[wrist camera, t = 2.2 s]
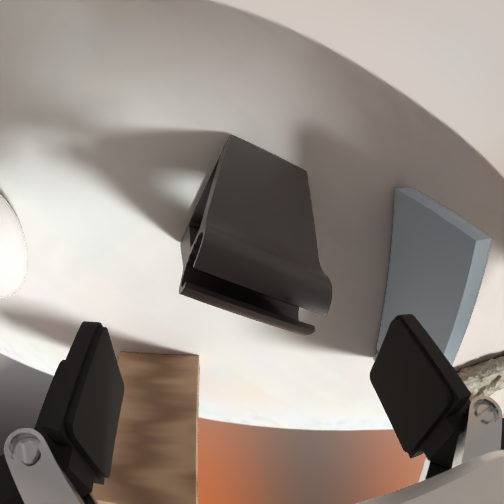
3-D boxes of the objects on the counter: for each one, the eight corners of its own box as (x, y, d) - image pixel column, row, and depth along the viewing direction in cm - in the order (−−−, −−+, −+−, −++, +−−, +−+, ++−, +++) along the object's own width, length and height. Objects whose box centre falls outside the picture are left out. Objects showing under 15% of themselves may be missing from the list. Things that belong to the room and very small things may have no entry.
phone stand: (230, 133, 21) (241, 166, 10) (305, 170, 22) (380, 238, 12) (180, 241, 24) (154, 354, 13) (249, 269, 26) (270, 387, 15)
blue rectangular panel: (386, 358, 32) (422, 426, 23) (372, 362, 32) (406, 433, 23) (411, 186, 23) (493, 237, 14) (393, 187, 23) (474, 241, 14)
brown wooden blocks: (432, 338, 32) (498, 438, 18) (426, 350, 33) (487, 449, 19) (120, 351, 28) (85, 496, 14) (124, 365, 29) (94, 504, 15)
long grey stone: (521, 366, 45) (541, 329, 42) (534, 380, 41) (556, 343, 37) (411, 413, 40) (436, 369, 36) (425, 437, 35) (455, 393, 31)
